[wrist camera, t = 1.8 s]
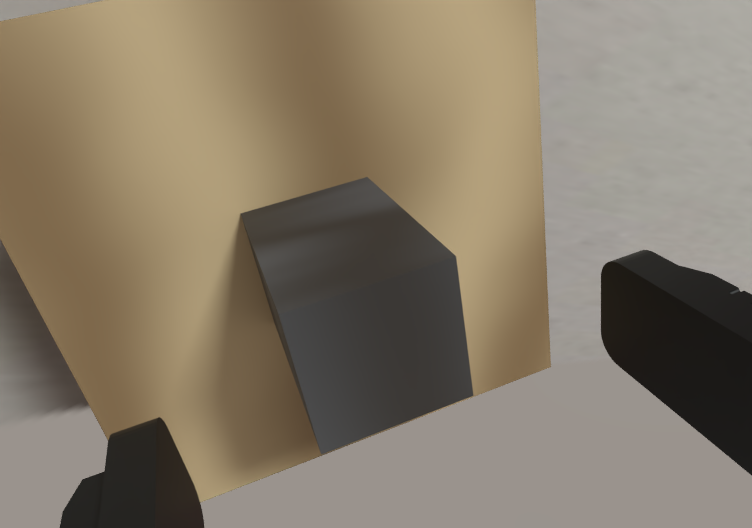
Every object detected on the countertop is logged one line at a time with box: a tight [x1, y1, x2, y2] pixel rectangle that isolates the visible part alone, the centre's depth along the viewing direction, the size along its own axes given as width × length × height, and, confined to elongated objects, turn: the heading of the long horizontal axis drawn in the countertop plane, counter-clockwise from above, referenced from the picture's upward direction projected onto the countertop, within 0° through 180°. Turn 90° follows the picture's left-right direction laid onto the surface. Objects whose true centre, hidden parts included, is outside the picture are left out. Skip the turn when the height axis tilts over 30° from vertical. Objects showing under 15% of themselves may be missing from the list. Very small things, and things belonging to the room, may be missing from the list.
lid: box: [0, 0, 551, 502], centre depth 14 cm, size 13×13×7 cm
